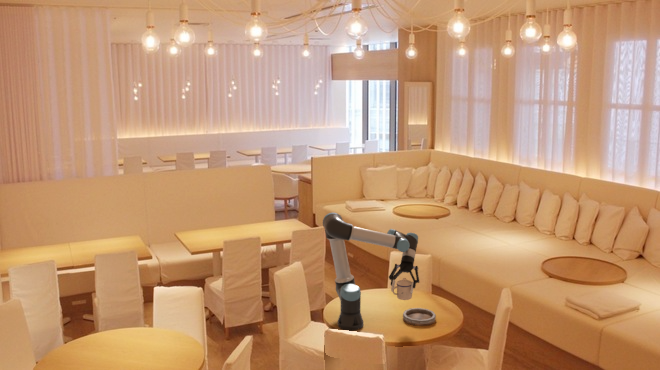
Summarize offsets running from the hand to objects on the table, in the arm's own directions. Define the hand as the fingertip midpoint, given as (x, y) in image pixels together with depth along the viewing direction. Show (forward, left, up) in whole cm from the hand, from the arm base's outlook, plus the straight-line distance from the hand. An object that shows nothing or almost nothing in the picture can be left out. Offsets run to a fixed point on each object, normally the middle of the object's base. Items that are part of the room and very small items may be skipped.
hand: (401, 291), depth 369 cm
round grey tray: (+8, +14, -21) cm, 26 cm away
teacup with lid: (0, +3, -5) cm, 6 cm away
